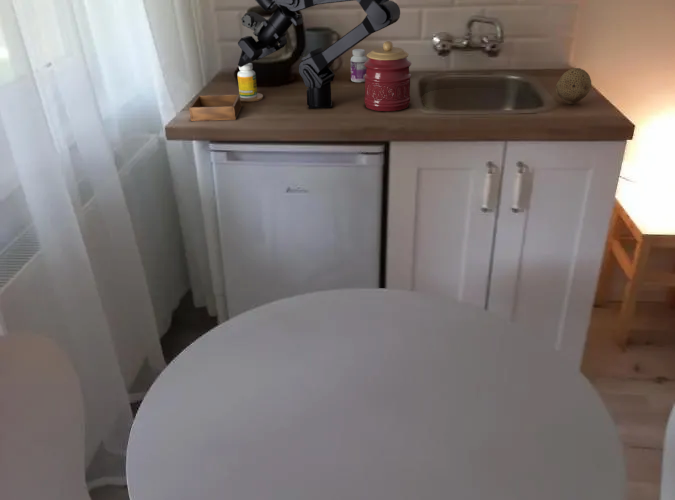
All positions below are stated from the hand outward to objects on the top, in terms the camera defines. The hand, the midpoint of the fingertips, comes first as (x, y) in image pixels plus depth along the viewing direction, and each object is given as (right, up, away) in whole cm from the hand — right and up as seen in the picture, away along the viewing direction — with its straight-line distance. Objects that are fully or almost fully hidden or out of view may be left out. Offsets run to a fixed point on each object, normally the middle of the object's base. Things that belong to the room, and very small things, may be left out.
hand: (247, 62), depth 183 cm
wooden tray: (-8, -17, -8) cm, 20 cm away
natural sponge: (+91, -15, -9) cm, 93 cm away
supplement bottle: (0, -9, +5) cm, 10 cm away
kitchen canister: (+40, -14, -5) cm, 43 cm away
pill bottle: (+33, 0, +20) cm, 39 cm away
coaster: (-1, -9, +6) cm, 11 cm away
